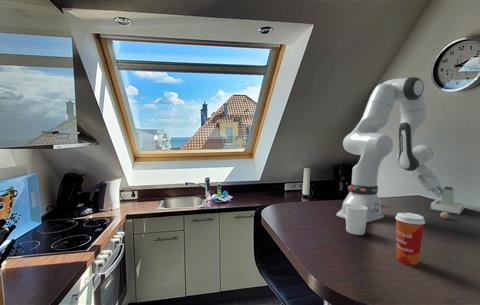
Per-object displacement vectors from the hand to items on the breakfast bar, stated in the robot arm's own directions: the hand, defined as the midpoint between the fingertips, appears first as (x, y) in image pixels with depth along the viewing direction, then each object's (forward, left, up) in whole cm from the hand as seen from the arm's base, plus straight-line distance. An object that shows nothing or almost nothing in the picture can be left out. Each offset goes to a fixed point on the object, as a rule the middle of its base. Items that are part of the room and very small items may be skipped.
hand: (442, 194), depth 144 cm
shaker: (0, -2, -7) cm, 7 cm away
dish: (0, -2, -7) cm, 8 cm away
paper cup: (-84, -4, -7) cm, 84 cm away
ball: (-22, -4, -7) cm, 23 cm away
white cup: (-71, +17, -7) cm, 73 cm away
